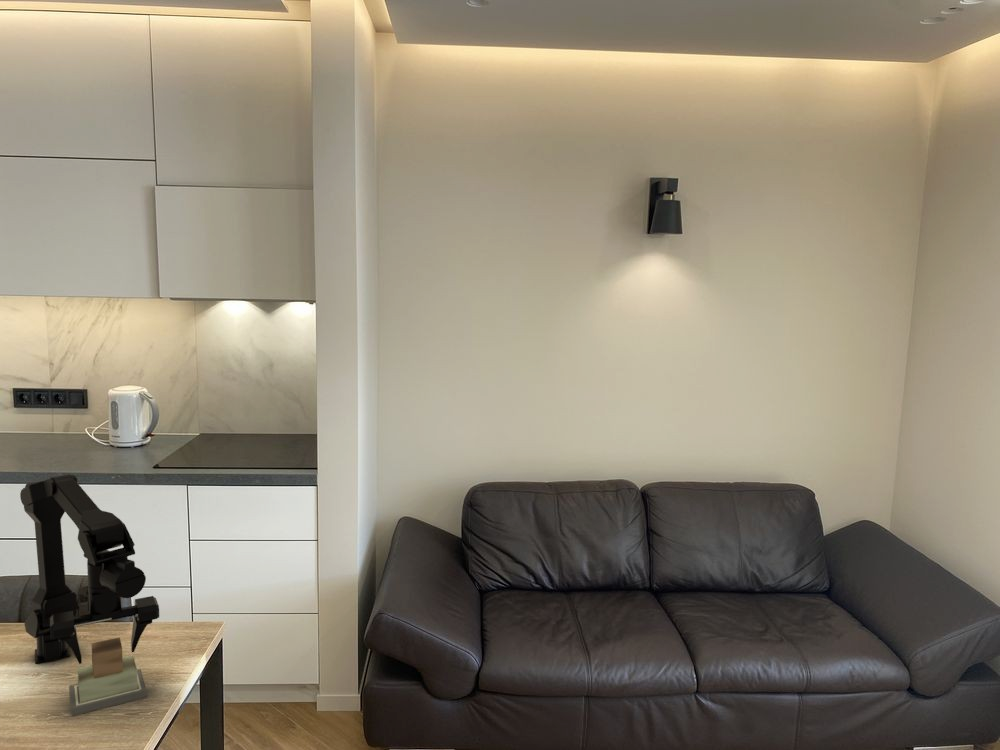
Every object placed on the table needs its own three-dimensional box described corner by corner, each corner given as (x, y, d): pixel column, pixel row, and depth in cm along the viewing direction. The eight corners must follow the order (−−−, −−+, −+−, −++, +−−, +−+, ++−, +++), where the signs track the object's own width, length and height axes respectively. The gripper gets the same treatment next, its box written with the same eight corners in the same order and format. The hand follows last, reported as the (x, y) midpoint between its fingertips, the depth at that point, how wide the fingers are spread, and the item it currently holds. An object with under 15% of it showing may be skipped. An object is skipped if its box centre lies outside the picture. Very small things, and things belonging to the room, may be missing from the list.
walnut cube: (92, 666, 143) (91, 643, 143) (120, 660, 146) (119, 637, 146) (94, 678, 139) (93, 654, 139) (122, 671, 142) (122, 648, 141)
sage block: (78, 686, 143) (77, 668, 143) (133, 673, 149) (133, 655, 148) (80, 703, 138) (79, 683, 137) (137, 688, 143) (137, 670, 143)
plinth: (69, 692, 144) (69, 685, 143) (141, 675, 151) (140, 668, 151) (71, 716, 136) (71, 708, 136) (146, 697, 143) (146, 689, 143)
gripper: (151, 560, 152) (152, 629, 154) (47, 576, 142) (51, 650, 144) (158, 579, 143) (160, 652, 145) (49, 598, 133) (52, 676, 135)
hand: (106, 656), depth 142 cm, fingers open, 9 cm apart
